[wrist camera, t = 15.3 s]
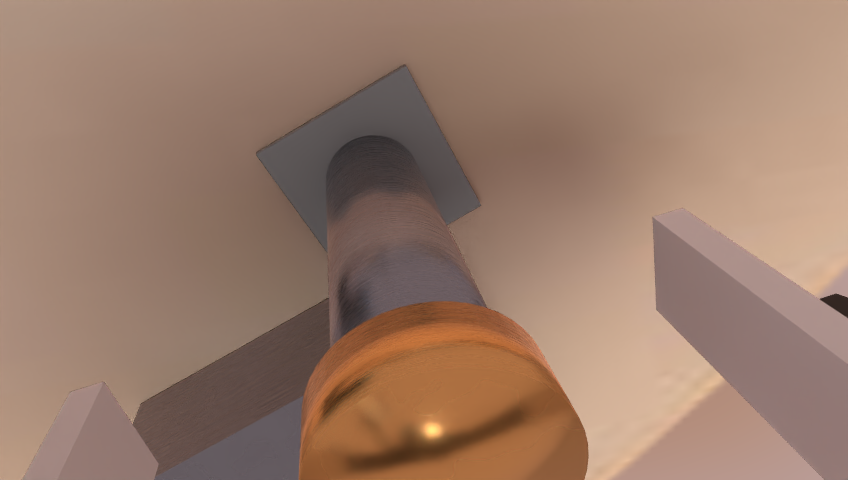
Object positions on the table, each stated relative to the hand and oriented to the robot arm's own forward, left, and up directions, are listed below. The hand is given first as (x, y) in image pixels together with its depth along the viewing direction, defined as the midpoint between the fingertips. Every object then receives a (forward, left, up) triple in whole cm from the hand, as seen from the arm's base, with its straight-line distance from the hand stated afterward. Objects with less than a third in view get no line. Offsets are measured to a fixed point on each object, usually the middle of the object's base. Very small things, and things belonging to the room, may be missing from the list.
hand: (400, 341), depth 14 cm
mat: (0, 0, -12) cm, 12 cm away
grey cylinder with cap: (0, 0, -12) cm, 12 cm away
